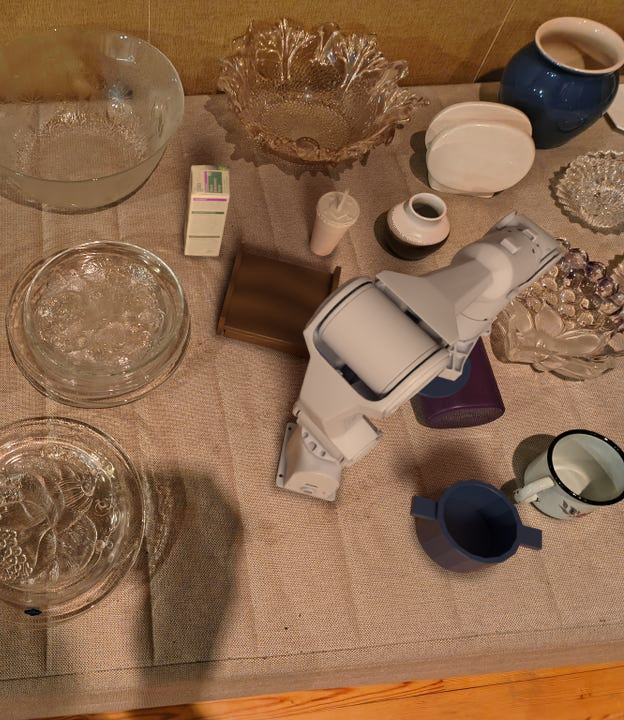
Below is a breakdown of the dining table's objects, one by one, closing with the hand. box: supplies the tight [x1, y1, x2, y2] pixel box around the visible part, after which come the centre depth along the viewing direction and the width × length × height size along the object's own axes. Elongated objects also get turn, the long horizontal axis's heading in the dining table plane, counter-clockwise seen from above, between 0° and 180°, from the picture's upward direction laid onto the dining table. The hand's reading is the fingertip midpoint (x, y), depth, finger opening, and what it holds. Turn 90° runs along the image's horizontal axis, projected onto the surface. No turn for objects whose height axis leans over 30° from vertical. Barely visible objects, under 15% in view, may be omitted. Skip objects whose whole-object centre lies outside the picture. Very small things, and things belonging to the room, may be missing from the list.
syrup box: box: [183, 164, 231, 257], centre depth 101 cm, size 6×6×14 cm
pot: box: [409, 478, 543, 574], centre depth 84 cm, size 10×16×7 cm, turn 74°
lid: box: [416, 356, 472, 399], centre depth 86 cm, size 11×11×5 cm
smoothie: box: [309, 188, 361, 257], centre depth 101 cm, size 6×6×14 cm
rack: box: [215, 241, 342, 360], centre depth 99 cm, size 14×16×5 cm
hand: (425, 355), depth 87 cm, fingers closed on lid, 2 cm apart
